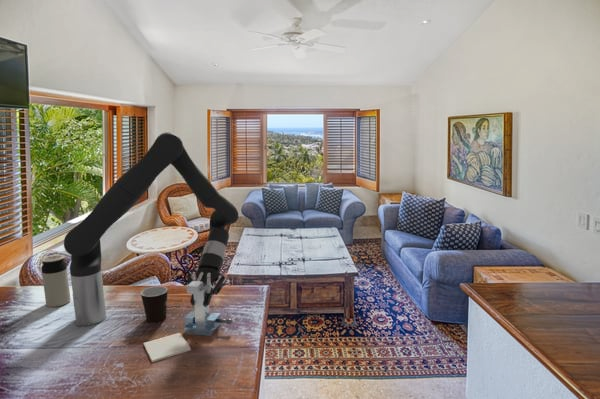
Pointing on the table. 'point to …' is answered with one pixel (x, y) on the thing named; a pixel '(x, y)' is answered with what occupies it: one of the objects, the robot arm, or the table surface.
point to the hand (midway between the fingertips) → (199, 305)
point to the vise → (208, 330)
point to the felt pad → (166, 347)
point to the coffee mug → (155, 303)
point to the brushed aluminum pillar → (199, 301)
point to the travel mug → (55, 280)
